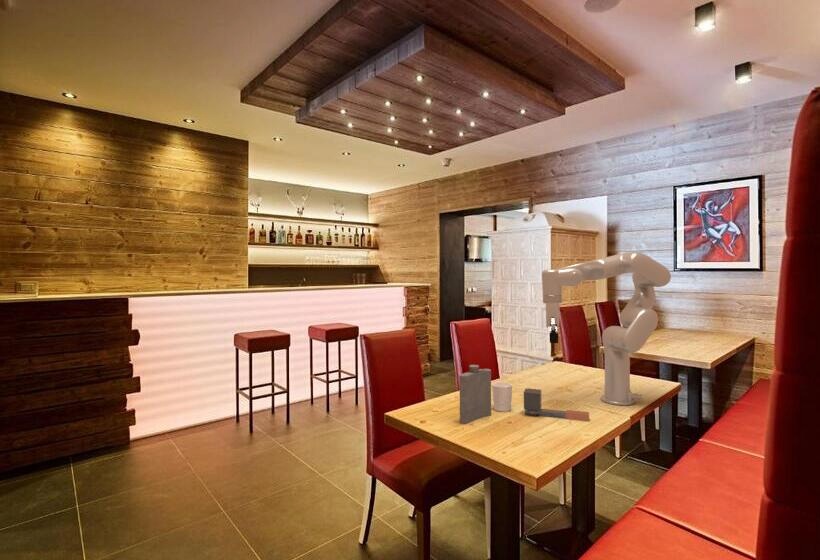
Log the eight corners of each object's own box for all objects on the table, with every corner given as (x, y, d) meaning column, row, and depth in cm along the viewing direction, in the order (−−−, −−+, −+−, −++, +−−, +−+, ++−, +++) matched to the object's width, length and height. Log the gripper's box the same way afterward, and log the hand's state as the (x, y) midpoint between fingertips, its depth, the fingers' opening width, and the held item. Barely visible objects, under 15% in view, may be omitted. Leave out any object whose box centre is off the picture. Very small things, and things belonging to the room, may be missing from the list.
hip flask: (464, 424, 151) (463, 369, 151) (456, 421, 154) (455, 367, 154) (493, 414, 161) (492, 363, 161) (484, 412, 164) (484, 361, 164)
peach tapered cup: (488, 407, 170) (488, 383, 170) (505, 405, 173) (504, 381, 173) (499, 413, 163) (499, 387, 162) (516, 410, 165) (516, 385, 165)
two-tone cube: (541, 406, 163) (541, 389, 163) (540, 410, 157) (540, 393, 157) (525, 404, 165) (525, 388, 165) (523, 409, 160) (523, 392, 160)
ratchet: (588, 417, 157) (588, 402, 157) (589, 422, 152) (589, 406, 152) (526, 411, 165) (525, 396, 165) (524, 415, 160) (524, 400, 160)
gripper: (543, 298, 181) (545, 337, 181) (541, 301, 164) (543, 344, 165) (562, 297, 178) (563, 337, 178) (562, 301, 162) (564, 344, 162)
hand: (554, 340), depth 172 cm, fingers open, 9 cm apart
